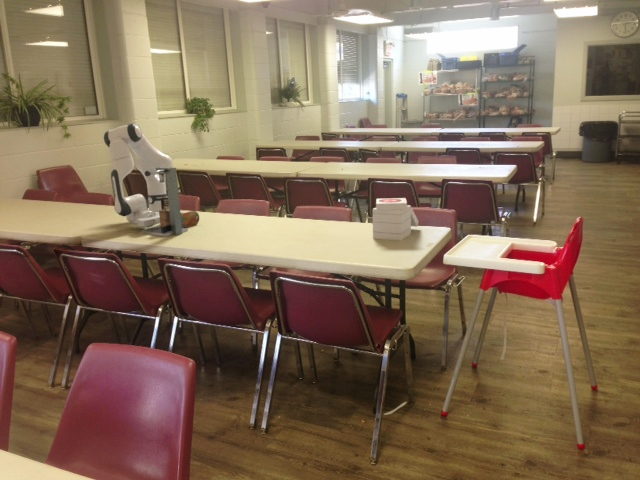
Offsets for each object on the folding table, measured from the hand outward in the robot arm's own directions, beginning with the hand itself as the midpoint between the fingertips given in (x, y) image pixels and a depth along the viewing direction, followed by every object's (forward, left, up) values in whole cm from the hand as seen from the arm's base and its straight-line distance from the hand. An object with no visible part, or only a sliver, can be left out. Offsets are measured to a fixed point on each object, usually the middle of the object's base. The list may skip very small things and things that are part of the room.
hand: (163, 221), depth 317 cm
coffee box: (-17, -15, -6) cm, 23 cm away
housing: (0, +3, -5) cm, 5 cm away
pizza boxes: (-56, +114, -6) cm, 128 cm away
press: (+3, +1, -6) cm, 7 cm away
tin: (-17, 0, -6) cm, 18 cm away
